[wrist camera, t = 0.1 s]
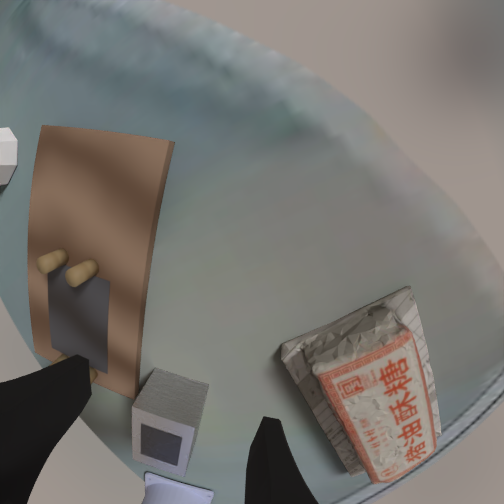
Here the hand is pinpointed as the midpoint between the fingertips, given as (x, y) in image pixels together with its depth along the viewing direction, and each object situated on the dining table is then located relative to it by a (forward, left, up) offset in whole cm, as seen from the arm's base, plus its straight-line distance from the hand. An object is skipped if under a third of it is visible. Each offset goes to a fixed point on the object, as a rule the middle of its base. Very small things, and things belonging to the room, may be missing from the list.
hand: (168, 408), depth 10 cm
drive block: (-10, +1, -10) cm, 14 cm away
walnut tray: (0, +10, -10) cm, 14 cm away
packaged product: (-5, -14, -11) cm, 19 cm away
